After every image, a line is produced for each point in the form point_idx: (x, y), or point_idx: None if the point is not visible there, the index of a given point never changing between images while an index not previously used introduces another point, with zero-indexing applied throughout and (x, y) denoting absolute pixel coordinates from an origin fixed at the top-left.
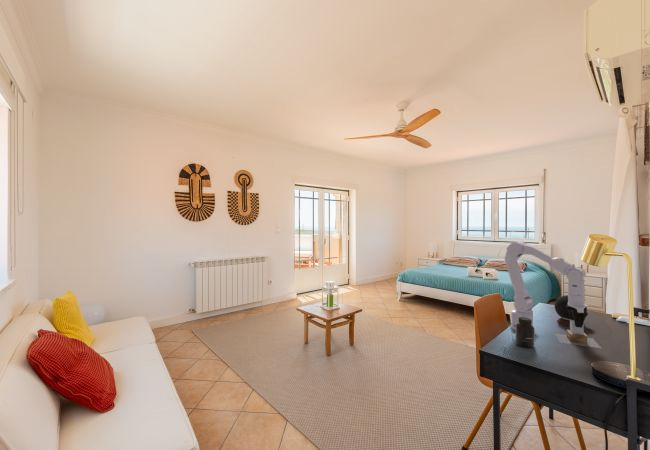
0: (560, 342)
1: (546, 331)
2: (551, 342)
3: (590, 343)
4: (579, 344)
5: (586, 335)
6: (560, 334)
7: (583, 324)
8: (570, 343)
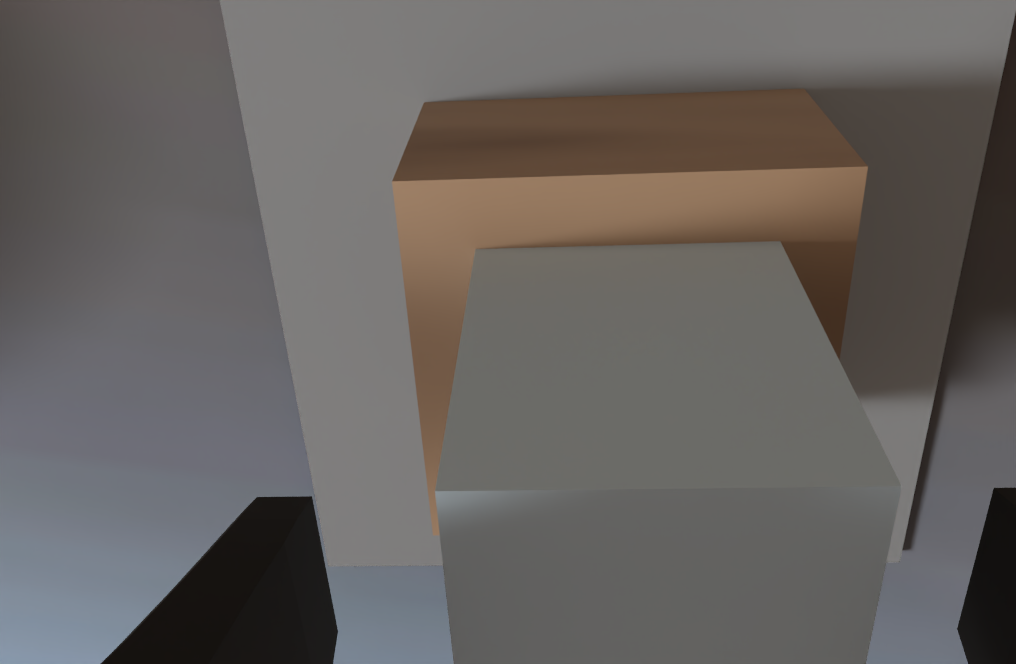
0: (893, 558)
1: None
2: (897, 657)
3: (714, 2)
4: (903, 265)
5: (802, 176)
6: (327, 489)
7: (888, 465)
8: (896, 416)
